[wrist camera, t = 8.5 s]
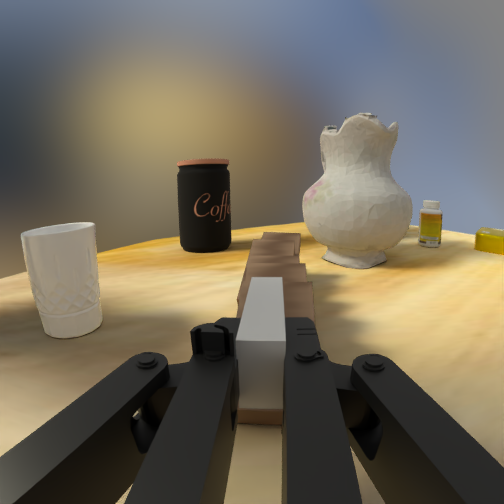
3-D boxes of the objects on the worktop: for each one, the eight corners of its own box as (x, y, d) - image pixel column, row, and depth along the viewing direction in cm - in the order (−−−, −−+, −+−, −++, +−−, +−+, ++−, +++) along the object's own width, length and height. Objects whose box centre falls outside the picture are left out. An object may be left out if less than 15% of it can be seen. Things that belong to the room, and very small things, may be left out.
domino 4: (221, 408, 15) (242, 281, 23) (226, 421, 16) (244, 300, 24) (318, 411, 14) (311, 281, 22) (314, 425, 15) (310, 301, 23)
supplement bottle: (443, 248, 60) (445, 202, 58) (420, 247, 62) (423, 200, 60) (436, 243, 65) (439, 200, 63) (415, 242, 67) (417, 199, 65)
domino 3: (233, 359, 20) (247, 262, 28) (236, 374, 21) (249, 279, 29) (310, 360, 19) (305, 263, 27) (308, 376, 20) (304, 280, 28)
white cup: (89, 305, 33) (77, 221, 31) (121, 324, 29) (108, 223, 27) (31, 323, 27) (14, 232, 25) (53, 350, 22) (30, 237, 20)
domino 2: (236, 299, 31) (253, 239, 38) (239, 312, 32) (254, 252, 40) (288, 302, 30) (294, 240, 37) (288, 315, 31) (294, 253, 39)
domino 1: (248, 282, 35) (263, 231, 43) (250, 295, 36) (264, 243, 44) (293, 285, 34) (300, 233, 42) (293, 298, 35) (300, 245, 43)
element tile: (526, 250, 57) (528, 232, 56) (529, 261, 47) (532, 239, 46) (479, 242, 68) (480, 225, 67) (473, 251, 58) (475, 230, 57)
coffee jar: (195, 256, 58) (191, 158, 54) (172, 247, 66) (168, 163, 62) (241, 248, 64) (239, 159, 61) (214, 241, 73) (212, 163, 69)
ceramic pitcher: (276, 258, 60) (265, 125, 53) (347, 240, 69) (341, 128, 62) (362, 289, 41) (354, 102, 35) (429, 259, 50) (427, 119, 44)
